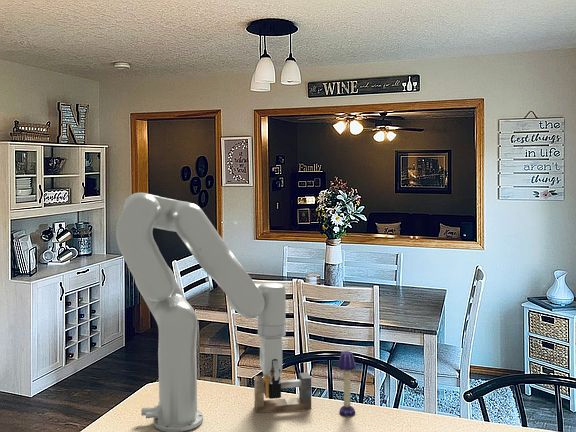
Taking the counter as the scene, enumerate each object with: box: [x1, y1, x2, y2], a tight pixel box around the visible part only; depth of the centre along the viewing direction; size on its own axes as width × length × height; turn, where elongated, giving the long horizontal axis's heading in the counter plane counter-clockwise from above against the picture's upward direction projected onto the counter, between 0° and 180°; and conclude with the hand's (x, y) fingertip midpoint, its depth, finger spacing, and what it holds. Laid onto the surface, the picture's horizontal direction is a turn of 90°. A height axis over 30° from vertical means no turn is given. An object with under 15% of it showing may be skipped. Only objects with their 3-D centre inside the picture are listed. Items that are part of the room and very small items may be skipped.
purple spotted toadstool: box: [337, 350, 356, 417], centre depth 151 cm, size 5×5×17 cm
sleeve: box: [262, 372, 282, 399], centre depth 154 cm, size 4×5×5 cm
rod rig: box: [253, 372, 312, 414], centre depth 155 cm, size 15×4×8 cm, turn 101°
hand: (271, 391), depth 154 cm, fingers open, 9 cm apart
